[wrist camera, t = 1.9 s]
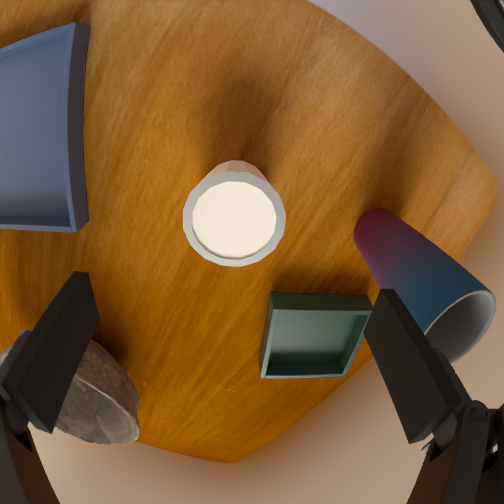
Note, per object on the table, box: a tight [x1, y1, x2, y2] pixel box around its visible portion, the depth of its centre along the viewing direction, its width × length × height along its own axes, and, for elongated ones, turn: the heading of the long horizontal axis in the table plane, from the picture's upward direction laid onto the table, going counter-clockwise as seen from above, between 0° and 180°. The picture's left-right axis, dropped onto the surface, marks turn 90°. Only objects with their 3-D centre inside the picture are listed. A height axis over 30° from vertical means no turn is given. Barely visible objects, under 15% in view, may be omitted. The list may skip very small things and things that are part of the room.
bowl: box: [0, 329, 140, 445], centre depth 31 cm, size 21×21×10 cm
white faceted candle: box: [183, 160, 286, 266], centre depth 22 cm, size 7×7×7 cm
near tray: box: [0, 22, 90, 233], centre depth 19 cm, size 19×19×3 cm
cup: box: [354, 209, 496, 364], centre depth 21 cm, size 7×7×15 cm
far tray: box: [259, 292, 373, 378], centre depth 32 cm, size 11×11×3 cm
